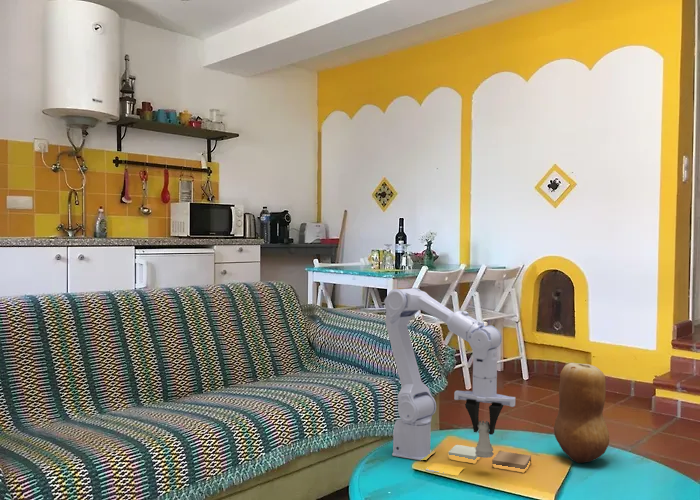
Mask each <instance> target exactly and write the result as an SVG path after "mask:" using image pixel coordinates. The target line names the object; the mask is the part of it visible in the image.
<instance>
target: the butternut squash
mask: <svg viewBox="0 0 700 500" xmlns="http://www.w3.org/2000/svg"><path fill="white" fill-rule="evenodd" d="M559 377H560V379H559V386H558V399H559V400H558V403H559V404H558V413H557V415H556V418H555V421H554V425H553V433H554V437H555V438H554V439H555V440H556V442H557V443H558V445H559V447H560V448H561V450H562V451H563V452H564V454H565V455H567V456H568V457H569V459H571V460H572V461H573V462H575V463H578V464H584V463H590V462H593V461H595V460H597V459H599V458H600V457H601V456H603V455H604V454H605V452H606V451H607V449H608V448H609V444H610V432H609V429H608V426H607V423H606V420H605V419H604V414H603V413H604V412H603V411H604V406H605V404H606V403H605V402H606V397H607V396H606V395H607V394H606V393H607V391H606V390H607V386H606V385H607V384H606V381H607V379H606V375H605V374H604V372H603V371H602V370H601V369H600V368H599V367H597V366H595V365H593V364H589V363H580V362H579V363H578V362H577V363H576V362H569V363H566V364H565V365H564V367H563V368H562V370H561V371H560V373H559Z"/></svg>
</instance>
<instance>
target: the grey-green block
mask: <svg viewBox="0 0 700 500" xmlns="http://www.w3.org/2000/svg"><path fill="white" fill-rule="evenodd" d="M475 448H476V446H468V445H461V444H455V445H454V446H453V447H452V448H450V450H449V451H448V452H447V453H448V454H449V455H455V456H459V457H465V458H468V459H473V460H475V459H476V458H477V457H478V456H477V455H476V454H475V452H476V449H475Z"/></svg>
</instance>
